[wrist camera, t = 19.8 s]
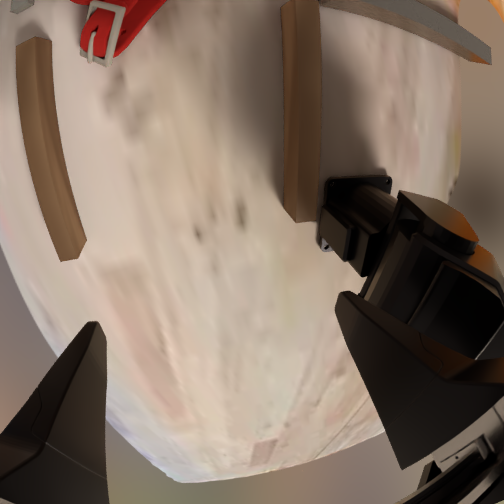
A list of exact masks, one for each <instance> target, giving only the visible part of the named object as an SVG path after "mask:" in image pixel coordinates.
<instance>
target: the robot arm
mask: <svg viewBox="0 0 504 504" xmlns="http://www.w3.org/2000/svg"><path fill="white" fill-rule="evenodd" d="M386 181H387V182H386ZM332 182H334V184H333V186H330V185H331V183H332ZM391 187H392V178H391V177H390V176H388V175H369V176H345V177H330V178H328V179H327V180H326V182H325V192H324V204H323V205H322V208H321V220H320V230H319V234H320V235H321V236H320V245H319V246H320V249H321V250H322V251H323V252H329V251H335V253H336V254H337V255H338V256H339V257H340V258H341V260H343V261H344V262H347V261H348V262H349V263H350V265H351V266H352V267H353V268H354V269H355V270H356V272H357V273H358V274H359V275H360V276H361V277H366V276H367V279H366V281H365V283H364V285H363V287H362V290H361V292H360V293H358V295H356V294H355V293H353V292H351V291H343V292H340V293H339V295H338V298H337V302H336V305H335V314H336V317H337V319H338V322H339V325H340V328H341V331H342V333H343V336H344V339H345V342H346V344H347V347H348V349H349V351H350V353H351V355H352V357H353V360H354V362H355V364H356V366H357V368H358V370H359V372H360V375H361V377H362V379H363V381H364V383H365V385H366V388H367V390H368V392H369V394H370V397H371V399H372V401H373V403H374V406H375V408H376V410H377V412H378V415H379V417H380V419H381V422H382V424H383V426H384V429H385V431H386V434H387V436H388V438H389V441H390V443H391V446H392V448H393V451H394V453H395V455H396V458H397V461H398V463H399V465H400V468H401V469H402V470H403V469H405V468H407V467H409V466H411V465H412V464H414V463H416V462H418V461H419V460H421V459H423V458H424V457H426V456H427V455H429V454H432V457H433V458H434V460H433V461H431V462H430V463H428V464H427V465H425V467H424V470H423V473H422V476H421V479H420V483H419V485H418V488H417V491H415V492H413V493H412V494H410V495H409V496H407V497H405V498H404V499H402V500H401V501H398V502H397V503H395V504H495V503H498V502H500V501H502V500H504V278H503V275H502V273H501V271H500V268H499V266H498V264H497V262H496V260H495V258H494V256H493V255H492V254H491V253H490V252H489V251H487V250H486V249H484V248H483V247H481V246H480V245H478V241H479V239H478V237H477V235H476V233H475V232H474V230H473V229H472V227H471V226H470V224H469V223H468V221H467V220H466V218H465V217H464V215H463V214H462V213H461V212H459V211H457V210H456V209H454V208H452V207H450V206H449V205H447V204H445V203H444V202H442V201H440V200H437V199H434V198H430V197H426V196H422V195H418V194H414V193H410V192H406V191H402V190H399V193H398V196H397V199H398V200H397V199H396V198H394V197H393V196H391V195H390V193H391ZM325 245H327V246H326V247H324V246H325ZM106 390H107V341H106V336H105V334H104V332H103V330H102V328H101V326H100V324H99V322H98V321H90V322H87V323H86V324H85V325H84V327H83V328H82V329H81V330H80V332H79V333H78V334H77V335H76V336H75V338H74V339H73V340H72V341H71V343H70V344H69V345H68V346H67V348H66V349H65V350H64V352H63V353H62V354H61V355H60V357H59V358H58V359H57V361H56V362H55V363H54V365H53V366H52V367H51V369H50V370H49V371H48V373H47V374H46V375H45V377H44V378H43V380H42V381H41V382H40V384H39V385H38V388H36V389H35V391H34V392H33V394H32V395H31V396H30V397H29V399H28V401H27V402H26V403H25V404H24V406H23V407H22V408H21V409H20V411H19V412H18V413H17V414H16V415H15V417H14V418H13V419H12V420H11V422H10V423H9V424H8V425H7V427H6V428H5V429H4V431H3V432H2V433H1V434H0V504H109V496H108V487H107V486H108V485H107V475H106V453H105V412H106Z"/></svg>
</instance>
